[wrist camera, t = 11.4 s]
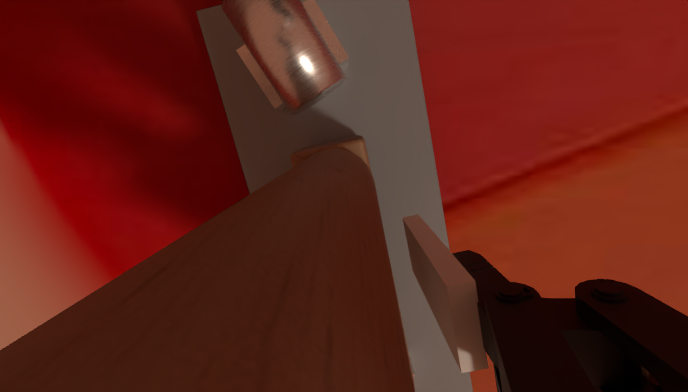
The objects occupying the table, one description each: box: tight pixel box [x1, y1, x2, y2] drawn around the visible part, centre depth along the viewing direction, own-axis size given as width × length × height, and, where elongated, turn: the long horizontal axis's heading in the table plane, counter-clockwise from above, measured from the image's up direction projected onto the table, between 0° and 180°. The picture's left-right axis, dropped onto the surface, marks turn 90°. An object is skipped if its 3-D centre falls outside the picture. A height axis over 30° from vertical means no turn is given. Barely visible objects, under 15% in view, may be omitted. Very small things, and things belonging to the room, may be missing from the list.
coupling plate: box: [196, 0, 473, 392], centre depth 20 cm, size 27×11×1 cm, turn 13°
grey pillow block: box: [222, 0, 349, 115], centre depth 15 cm, size 5×4×5 cm
